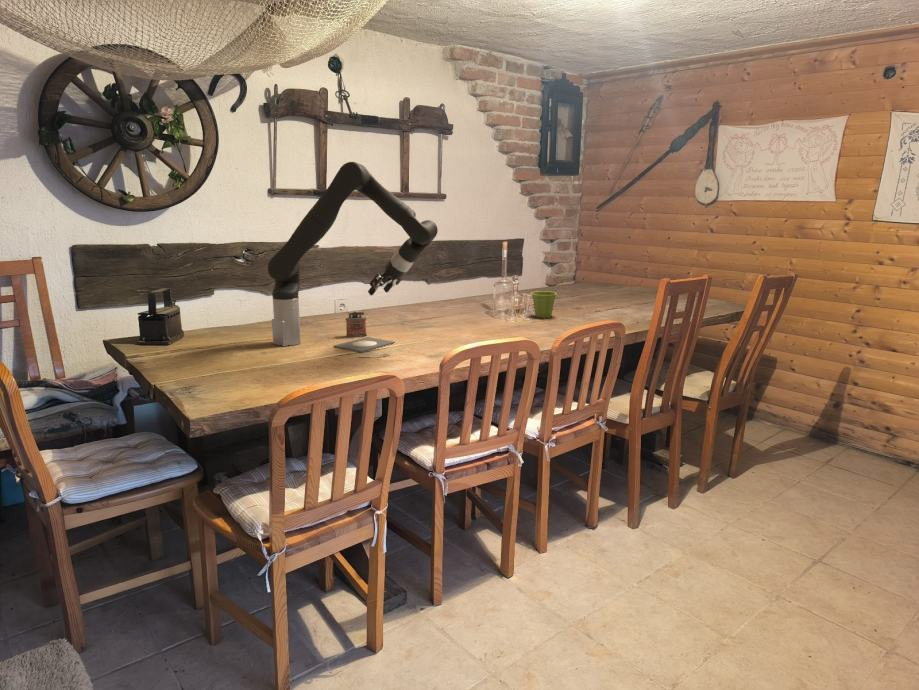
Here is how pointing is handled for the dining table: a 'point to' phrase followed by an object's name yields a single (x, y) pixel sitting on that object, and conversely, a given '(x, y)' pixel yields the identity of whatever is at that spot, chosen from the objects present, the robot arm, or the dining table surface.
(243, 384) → the dining table surface
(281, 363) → the dining table surface
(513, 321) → the dining table surface
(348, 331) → the lighter
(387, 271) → the robot arm
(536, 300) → the plant pot
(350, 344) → the mat
